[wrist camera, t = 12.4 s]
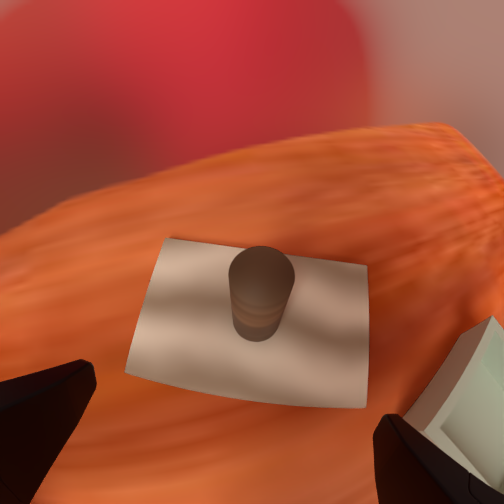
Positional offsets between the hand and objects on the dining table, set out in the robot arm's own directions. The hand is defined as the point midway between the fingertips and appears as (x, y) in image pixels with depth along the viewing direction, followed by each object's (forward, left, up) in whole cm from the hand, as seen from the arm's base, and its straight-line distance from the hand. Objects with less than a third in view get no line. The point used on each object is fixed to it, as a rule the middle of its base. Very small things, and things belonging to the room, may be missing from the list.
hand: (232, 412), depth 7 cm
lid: (+7, 0, -14) cm, 16 cm away
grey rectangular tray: (-2, -23, -14) cm, 27 cm away
